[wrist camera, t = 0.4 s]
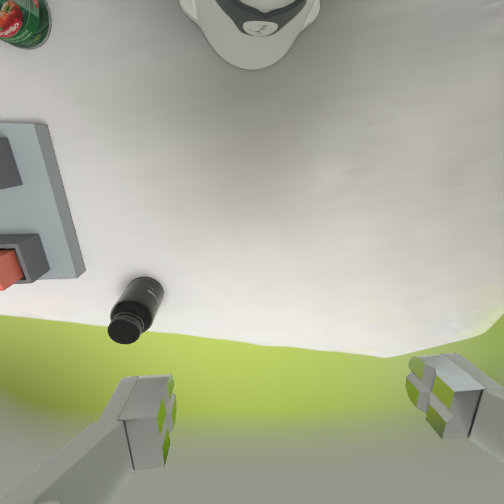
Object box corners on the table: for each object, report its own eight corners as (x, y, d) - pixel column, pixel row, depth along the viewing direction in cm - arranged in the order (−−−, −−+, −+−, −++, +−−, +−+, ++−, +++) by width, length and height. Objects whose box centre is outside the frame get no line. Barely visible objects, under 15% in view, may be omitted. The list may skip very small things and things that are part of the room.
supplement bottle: (168, 282, 50) (153, 321, 39) (158, 310, 52) (141, 354, 41) (132, 271, 48) (106, 308, 37) (123, 300, 51) (95, 343, 40)
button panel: (-59, 122, 37) (-125, 117, 30) (47, 124, 38) (7, 120, 31) (2, 273, 46) (-38, 296, 39) (85, 270, 47) (61, 292, 40)
